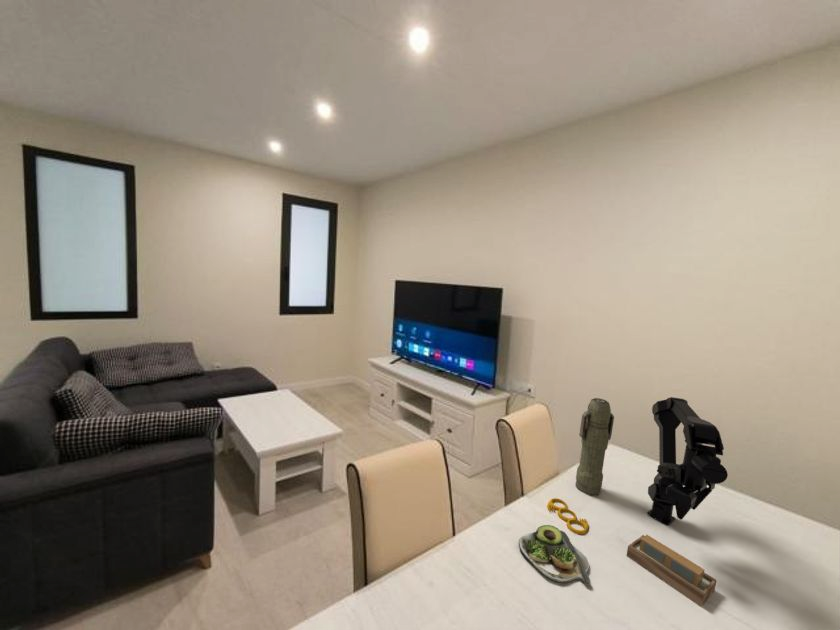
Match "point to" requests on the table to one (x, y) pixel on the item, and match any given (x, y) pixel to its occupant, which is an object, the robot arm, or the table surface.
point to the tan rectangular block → (672, 560)
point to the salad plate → (555, 554)
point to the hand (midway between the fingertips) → (686, 513)
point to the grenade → (594, 445)
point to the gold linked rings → (568, 520)
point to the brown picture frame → (672, 575)
